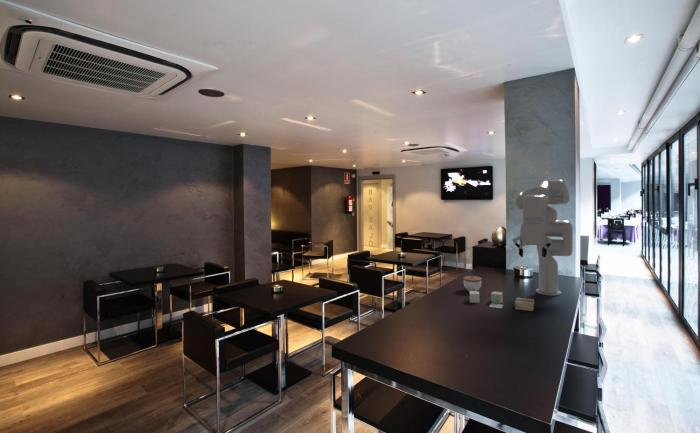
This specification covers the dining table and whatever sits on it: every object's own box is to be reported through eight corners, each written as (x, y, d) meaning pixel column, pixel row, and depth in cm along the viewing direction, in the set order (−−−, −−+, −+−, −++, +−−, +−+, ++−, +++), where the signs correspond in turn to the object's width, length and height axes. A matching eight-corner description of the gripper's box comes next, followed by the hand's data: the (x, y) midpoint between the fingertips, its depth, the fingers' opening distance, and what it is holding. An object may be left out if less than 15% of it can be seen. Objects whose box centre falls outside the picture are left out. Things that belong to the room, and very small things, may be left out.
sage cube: (493, 300, 186) (492, 291, 186) (502, 301, 183) (502, 292, 183) (491, 302, 182) (491, 293, 182) (501, 303, 179) (501, 294, 179)
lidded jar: (459, 289, 209) (459, 275, 208) (472, 287, 213) (472, 272, 213) (472, 293, 199) (472, 278, 199) (485, 290, 204) (485, 275, 203)
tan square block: (517, 304, 177) (516, 297, 177) (534, 306, 173) (534, 299, 173) (515, 309, 171) (515, 301, 170) (533, 311, 166) (532, 303, 166)
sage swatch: (491, 303, 180) (491, 303, 180) (503, 305, 176) (503, 304, 176) (489, 307, 175) (489, 306, 175) (501, 308, 171) (501, 308, 171)
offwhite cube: (469, 299, 189) (469, 291, 188) (479, 300, 187) (478, 291, 187) (469, 302, 184) (469, 293, 184) (479, 303, 182) (479, 294, 182)
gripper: (550, 220, 160) (550, 255, 161) (510, 221, 165) (511, 255, 166) (555, 221, 153) (555, 258, 154) (513, 222, 158) (514, 258, 159)
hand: (532, 256), depth 160 cm, fingers open, 9 cm apart
